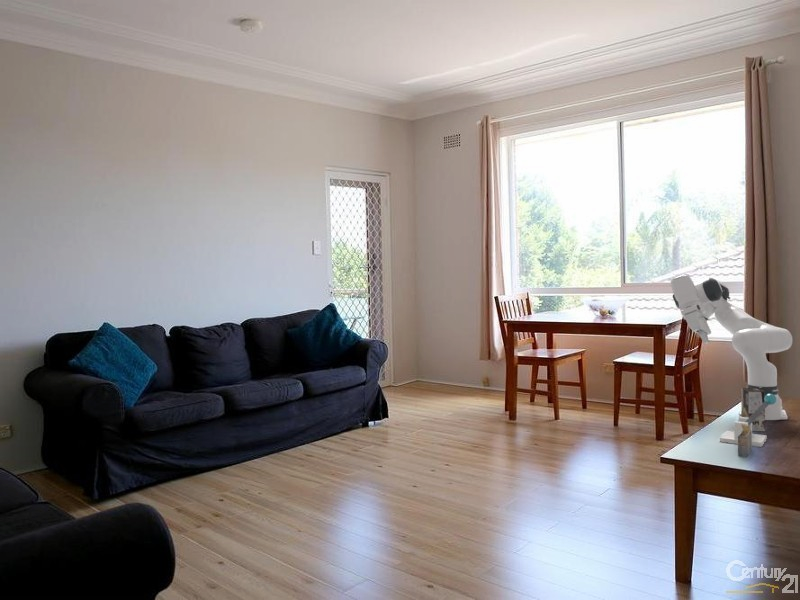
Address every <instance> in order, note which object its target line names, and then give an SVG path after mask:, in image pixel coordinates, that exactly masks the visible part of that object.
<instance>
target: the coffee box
mask: <svg viewBox="0 0 800 600" xmlns="http://www.w3.org/2000/svg"><path fill="white" fill-rule="evenodd" d="M740 389H741V390H740V394H741V395H740V397H741V398H740V399H741V400H740V401H741V404H740V405H741V406H740V407H741V410H740V411H742V415H741V417H747V418H749V417H750V416H751V415H752V414H753V413H754V412H755V411H756V410H757V409H758V408H759V407H760V406H761V405H762V404H763V402H764V401H765V400H764V397H765V392H764V391H762V390H760V389H758V388H747V387H741V388H740ZM765 431H766V420H765V409H764V410H763V411H762V412H761V414H760V415H759V416H758V417H757V418H756V419H755V420H754V421H753V422H752V432H765Z"/></svg>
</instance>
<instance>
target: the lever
mask: <svg viewBox="0 0 800 600" xmlns="http://www.w3.org/2000/svg"><path fill="white" fill-rule="evenodd" d="M764 400H765V401H764V402H763V404H762V405H761V406H760V407H759V408H758V409H757V410H756V411H755V412H754V413H753V414H752V415H751V416H750V417H749V418H748V419H747V420H746V421H745V422H747V423H748V427H749V425H750V424H751V423H752V422H753V421H754V420H755V419H756V418H757V417H758V416H759V415H760V414H761V412H762V411H763V410H764V409H765V408H766V407H767V406H768V405H769V404H770V405H772V404H775V403H776V401H777V399H776V396H775V395H773V394H767V395H766V396H765V397H764Z"/></svg>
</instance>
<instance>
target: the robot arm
mask: <svg viewBox="0 0 800 600" xmlns="http://www.w3.org/2000/svg"><path fill="white" fill-rule="evenodd" d="M670 285H671V290H672V293H673V294H672V299H673V301H674V303H675V306H676V308H678V309H679V310H680V314H681V315H682V317H683V320H685V321H686V323H687V324H688V327H689V328H690V329H691V331H692V332H694V333H696V334H698V336H699V337H700V339H701V341H702V343H703V344H705V345H707V344H709V343H710V340H709V337H708V335H709V336H710V335H711V334H712V331H711V328H710V326H709V324H708V322H707V321H709V319H710V317H711V316H712V315H713V314H714V317H715V319H716V320H717V322H718V323H719V324H720V325H721V326H722V328H724V329H726V331H728V332H729V333H730V334H732V337H731V344H732V347H733V349H734V350H735V351H736V352H737V353H738V354H740V355H741V357H742V358H743V360H744V361H745V364H746V369H747V384H746V388H758V389H760V390H762V391H764V392H765V396H766V395H767V394H773V395H775V396H776V399H777V401H776V403H775V404H772V405H770V404H769V405H768V406H767V407H766V408H765V421H778V420H779V421H780V420H788V417H789V416H788V415H787V412H786V410H785V409H784V406H782V405H783V402H782V401H783V400H782V399H781V397H780V396H779V385H778V370H777V367H776V365H775V364H773V363H771V362H770V361H768V359H767V356H766V355H767V354H771V353H781V352H784V351H787V350H789V349H790V348H791V347H792V345H793V336H792V333H791V332H790V331H789V330H788V329H786V328H784V327H783V328H782V327H778V326H775V325H772V324H771V323H770V324H769V323H766V322H764V321H761V320H760V319H757V318H756V317H755V318H754V317H753V316H751V315H750V314H748V313H747V312H745V311H744V310H743V309H741V308H740V307H738V306H735V305H734V304H732V303H730V302H729V301H728V300H731V297H730V290H729V288H728V286H727V285H726V284H725V283H724V282H723V281H721V280H717V279H715V278H712V277H707V278H706V279H703V280H701V281H693V280H692V278H691V276H690V275H689V274H681V275H679V276H676V277H674V278H672V279H671V280H670ZM738 415H739V416H742V410H740V411H739V412H738Z"/></svg>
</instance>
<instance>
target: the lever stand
mask: <svg viewBox="0 0 800 600" xmlns="http://www.w3.org/2000/svg"><path fill="white" fill-rule="evenodd" d="M747 419H748V418H747V417H742V416H738V421H737V420H735V421H733V431H730V430H726V431H725V432H723V434H721V436H719V442H720V441H721V443H726V442H728V443H729V444H734V445H736V444H737V445H738V436H739V434H740V433H741V432H742V430H743V428H742V426H741V425H743V424H744V425H746V426H748V423H747V422H745V421H746V420H747ZM749 427H750V430H752V423H751V424H750V425H749ZM766 439H767V440H768V438H767V435H766V434H765V435H764V434H757V433H756V434H755V433H752V447H758V448H759V447H760V448H762V447H763V445H764V444H765V443H764V442H766V441H767V440H766Z"/></svg>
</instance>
